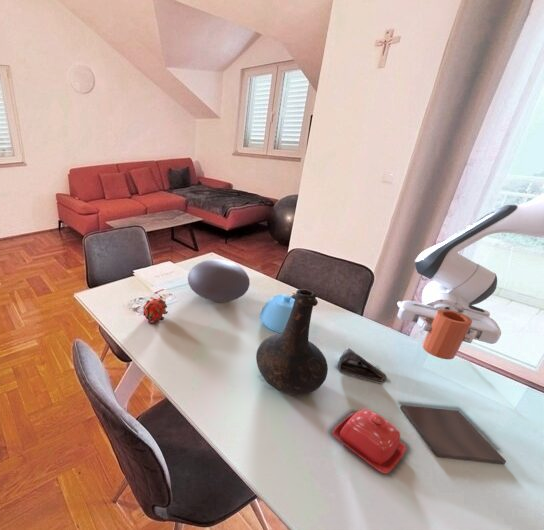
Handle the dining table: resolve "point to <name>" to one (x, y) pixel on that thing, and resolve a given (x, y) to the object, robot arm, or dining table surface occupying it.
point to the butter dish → (371, 439)
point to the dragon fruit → (154, 309)
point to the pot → (447, 334)
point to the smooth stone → (218, 280)
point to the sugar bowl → (277, 312)
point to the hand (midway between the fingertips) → (447, 334)
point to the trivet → (451, 434)
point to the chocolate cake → (359, 367)
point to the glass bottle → (293, 352)
